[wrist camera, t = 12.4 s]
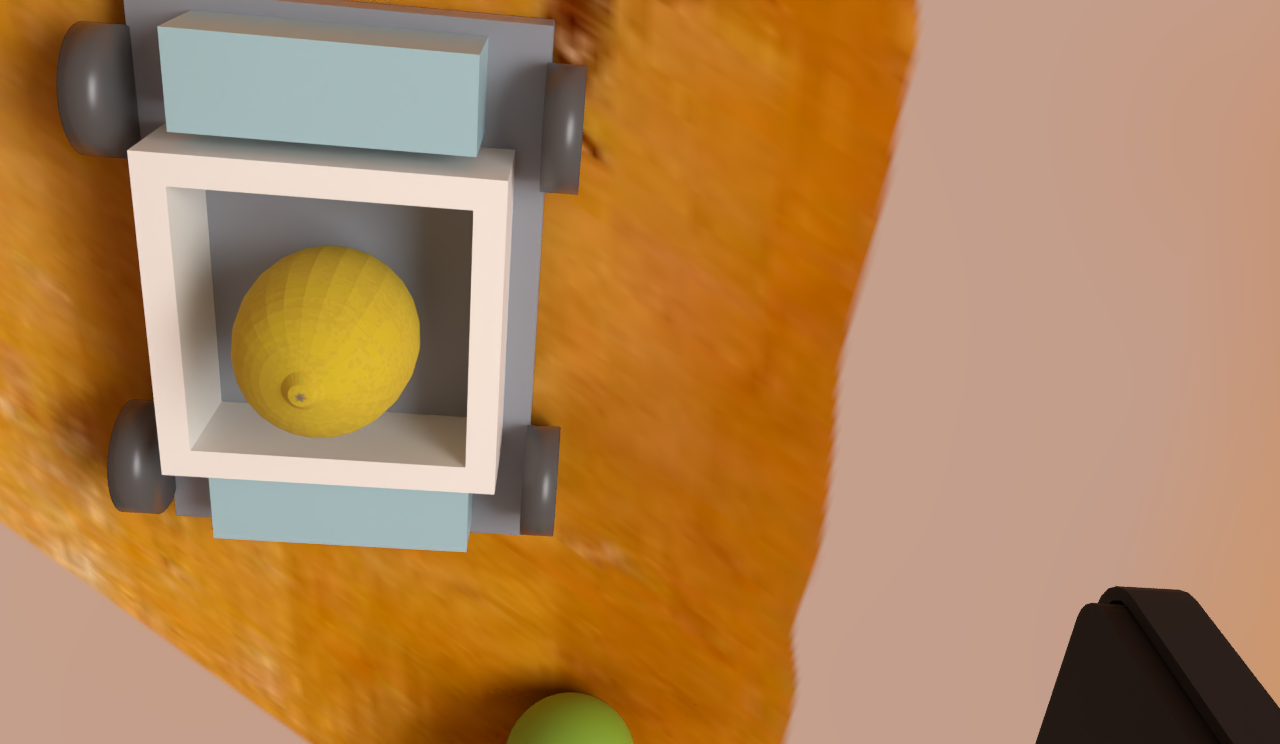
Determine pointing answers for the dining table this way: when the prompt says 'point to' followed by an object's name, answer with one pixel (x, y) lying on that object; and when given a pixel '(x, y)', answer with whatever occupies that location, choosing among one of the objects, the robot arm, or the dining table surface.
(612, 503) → the dining table surface
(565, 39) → the dining table surface
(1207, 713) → the robot arm
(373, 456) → the chassis
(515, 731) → the snail figurine
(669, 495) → the dining table surface
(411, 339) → the lemon
